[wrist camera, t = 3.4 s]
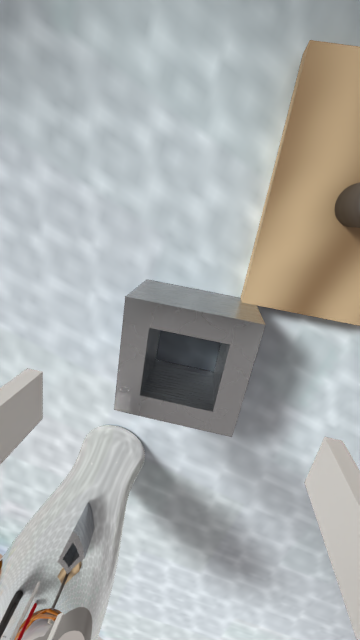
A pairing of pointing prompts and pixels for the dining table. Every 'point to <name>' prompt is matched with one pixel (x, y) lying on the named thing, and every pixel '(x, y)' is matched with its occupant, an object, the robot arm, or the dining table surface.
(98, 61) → the dining table surface
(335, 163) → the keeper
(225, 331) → the grey hollow square block
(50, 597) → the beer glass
